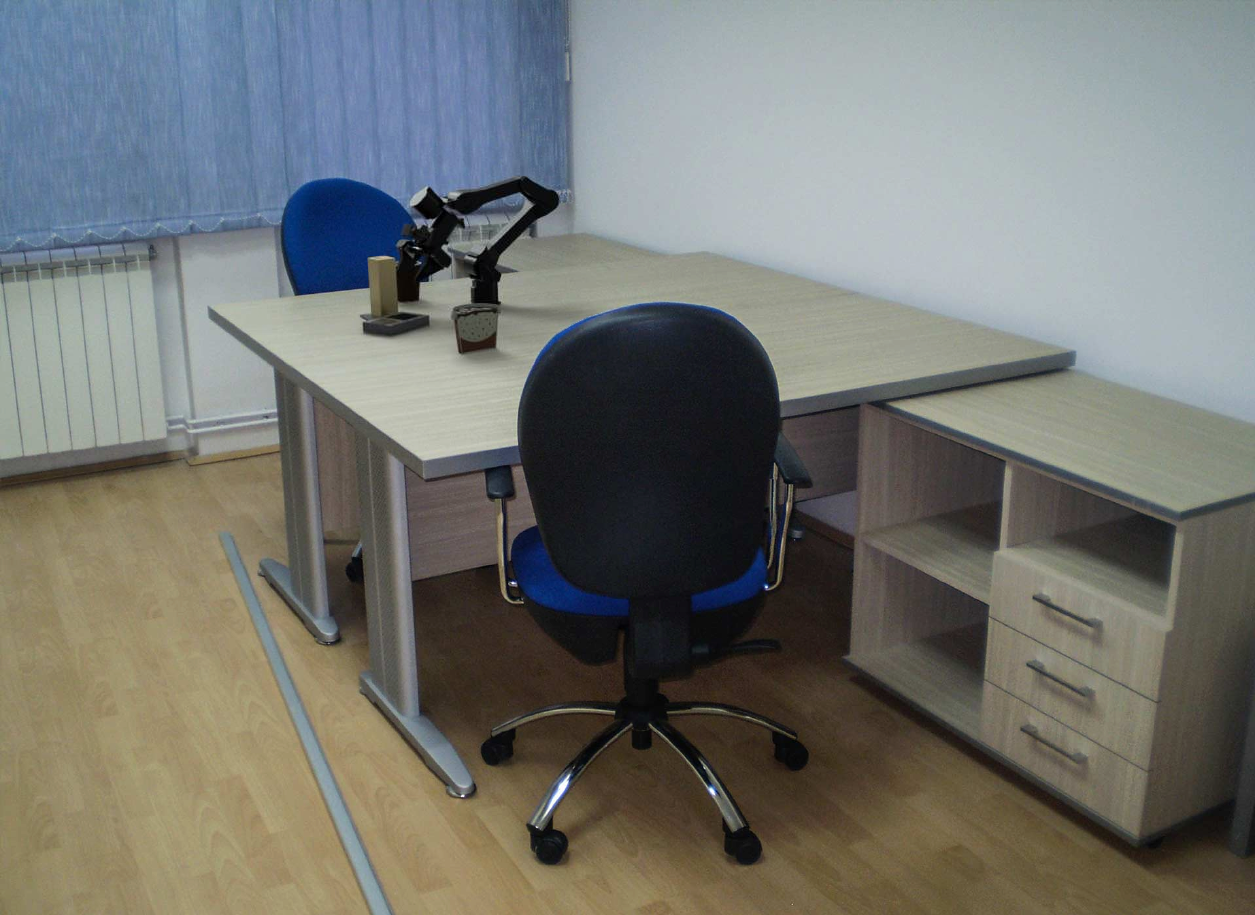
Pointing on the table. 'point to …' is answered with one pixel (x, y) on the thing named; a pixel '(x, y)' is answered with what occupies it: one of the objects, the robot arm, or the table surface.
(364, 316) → the rubber pad
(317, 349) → the table surface
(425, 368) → the table surface
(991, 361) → the table surface
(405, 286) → the coffee mug
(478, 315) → the food container
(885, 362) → the table surface
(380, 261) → the tan rectangular block
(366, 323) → the grey tray
